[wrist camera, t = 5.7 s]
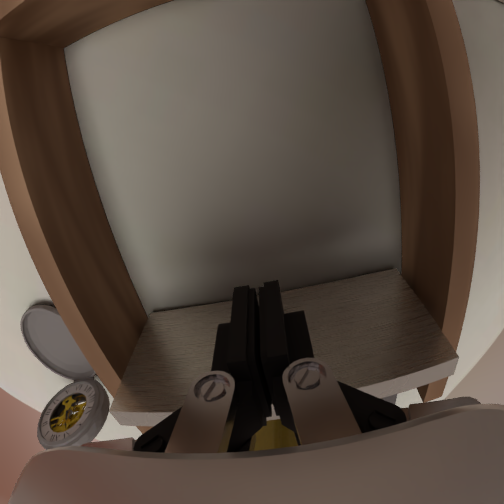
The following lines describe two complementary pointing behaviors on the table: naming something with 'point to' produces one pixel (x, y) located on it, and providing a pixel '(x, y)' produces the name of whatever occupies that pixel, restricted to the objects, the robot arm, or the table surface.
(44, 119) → the frame
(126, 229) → the table surface
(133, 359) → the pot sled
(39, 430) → the pocket watch
